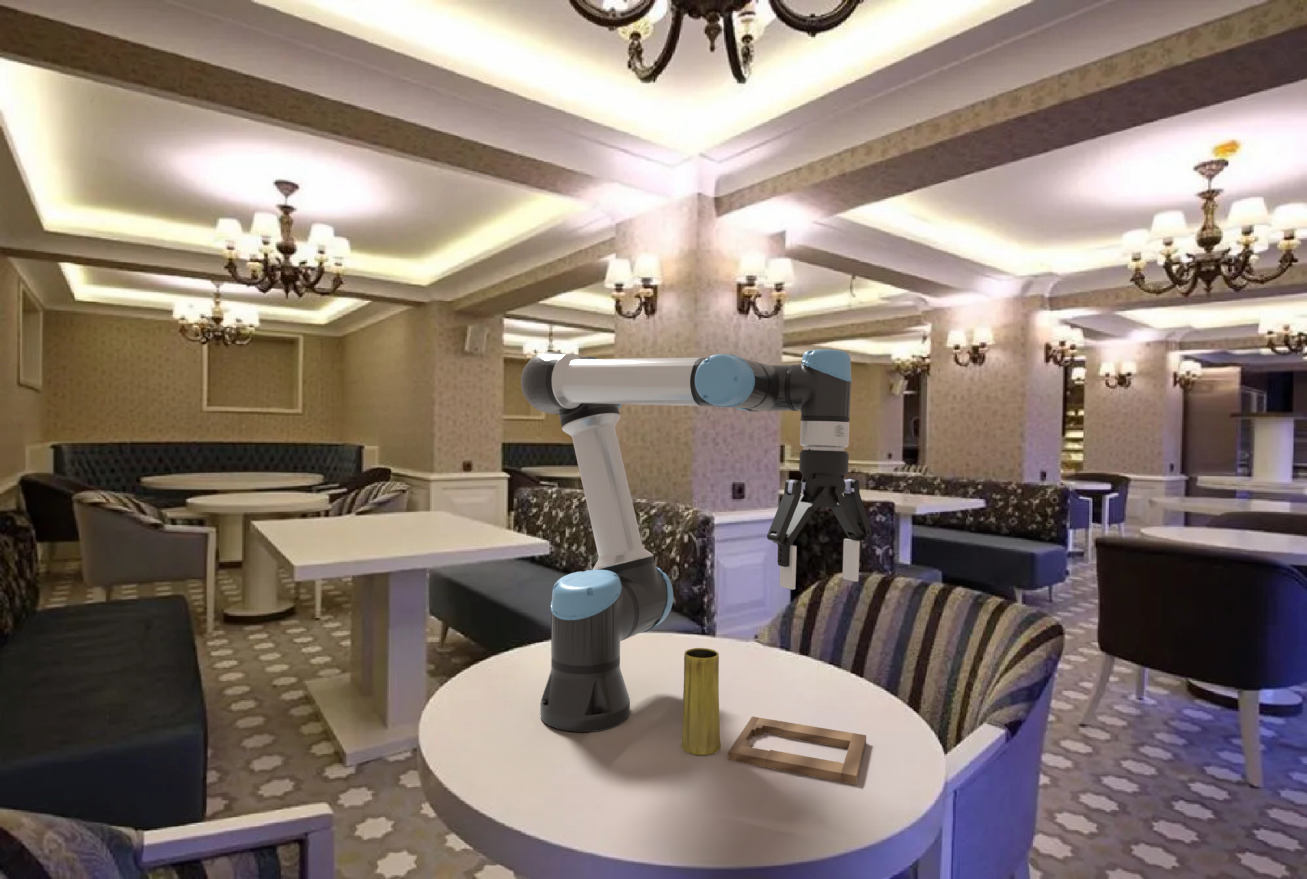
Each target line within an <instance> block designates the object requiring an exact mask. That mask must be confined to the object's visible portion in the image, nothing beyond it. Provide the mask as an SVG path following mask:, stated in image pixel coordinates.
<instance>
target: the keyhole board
mask: <svg viewBox="0 0 1307 879" xmlns="http://www.w3.org/2000/svg"><path fill="white" fill-rule="evenodd" d="M763 734H768V735H773V736H779V737H781V738H785V739H791V740H798V741H801V742H809V743H815V744H820V745H826V746H832V747H837V748H843V749H847V751H846V755H845V759H844V761H843V762H839V761H833V760H828V759H822V758H818V757H812V756H807V755H806V756H805V755H802V754H801V755H800V754H794V753H791V752H784V751H778V750H773V749H770V750H767V749H762V748H757V747H753V745H752V743H750V741H751V739H752V738H756V737H757V736H762V735H763ZM866 745H867V735H866V734H860V733H854V732H849V731H842V730H836V729H832V728H831V729H830V728H825V727H817V726H813V725H811V726H810V725H808V724H807V725H805V724H800V723H795V722H787V721H782V720H781V721H780V720H775V719H770V718H763V717H757V716H751V717H750V718H749V721H748V722H747V724H746V725H745V726H744V728H743V729H742V731H741V733H739V735H738V736H737V738H736V739H735V741H734V743H733V744H732V745H731V747H730V748H729V750H728V751H727V760H728V761H732V762H737V763H743V764H747V765H751V766H752V765H753V766H755V767H756V766H758V767H763V768H766V769H767V768H768V769H772V770H777V771H783V772H787V773H788V772H789V773H792V774H793V773H794V774H799V775H804V776H809V777H814V778H819V779H820V778H821V779H824V780H828V781H829V780H830V781H835V782H840V783H845V784H851V785H855V786H857V784H858V780H859V779H858V778H859V776H860V771H861V767H862V766H861V765H862V762H863V758H864V754H865V748H866Z"/></svg>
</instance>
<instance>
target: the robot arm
mask: <svg viewBox="0 0 1307 879" xmlns="http://www.w3.org/2000/svg"><path fill="white" fill-rule="evenodd" d="M852 383H853V379H852V360H851V356H850V355H849V353H848V352H846V351H844V350H839V349H821V348H820V349H811V350H807V351H805V352H804V353H803V354H802V360H801V362H800V363H796V364H774V365H773V364H766V363H763V362H759V361H758V362H757V361H755V360H754V361H753V360H749V359H747V358H742V357H740V356H737V355H735V354H727V353H725V354H724V353H723V354H722V353H719V354H713V355H710V356H708V357H707V356H706V357H702V356H701V357H695V356H694V357H645V358H644V357H641V358H640V357H638V358H635V357H634V358H597V357H593V356H580V355H577V354H574V353H565V352H560V351H545V352H540V353H538V354H537V355H535V356H533V357H532V358H531V359H530V360H528V362H527V363H526V364H525V366H524V368H523V370H522V372H521V375H520V387H521V388H520V389H521V392H522V394H523V397H524V398H525V400H526V402H527V403H528V404H529V405H530V406H531V407H532V408H534V409H536V410H537V411H539V412H542V413H545V414H550V415H556V416H558V417H559V422H560V426H561V430H562V432H564V433H566V435H569V436H570V437H571V439H572V443H573V449H574V452H575V453H574V454H575V456H576V460H577V466H578V471H579V475H580V479H581V484H582V488H583V494H584V498H585V502H586V506H587V511H588V514H589V519H590V524H591V528H592V534H593V538H594V542H595V547H596V551H597V555H598V559H597V561H596V563H595V565H594V566H593V568H592V569H587V570H585V571H581V570H580V571H576V572H571V573H569V574H566V575H564V576H562V577H561V578H559V579H558V580H557V581H556V582H555V583H554V585H553V586H552V595H551V602H550V612H551V616H550V617H551V618H550V619H551V622H550V627H551V628H550V633H551V636H550V638H551V639H550V640H551V643H550V645H551V648H550V649H551V650H550V652H551V655H550V656H551V663H550V665H551V669H550V672H549V675H548V679H547V682H546V684H545V687H544V690H543V694H542V696H541V699H540V700H541V701H540V706H539V707H540V708H539V710H540V711H539V712H540V714H539V715H541V717H540V719H541V718H542V719H541V721H542V720H543V721H544V722H545V723H546V724H545V723H544V722H543V721H542V722H543V723H544V724H545V725H547V724H548V725H547V726H549V725H550V726H549V727H551V726H552V727H551V728H553V727H554V728H553V729H557V730H560V729H561V730H560V731H567V732H574V733H575V732H577V733H581V732H584V733H585V732H596V731H597V732H598V731H603V730H608V729H610V728H614V727H616V726H619V725H620V724H623V723H624V722H625V721H626V720H628V718H629V717H630V714H631V700H630V695H629V693H628V690H627V686H626V683H625V680H624V676H623V673H622V670H621V641H626V640H627V639H630V638H632V637H634V636H636V635H639V634H641V633H646V632H650V631H651V630H653V629H654V628H655V627H656V626H658V625H660V624H661V623H662V622H665V619H667V617H668V615H670V614H669V613H670V612H671V610H672V607H673V602H674V588H673V585H672V583H671V580H670V578H669V576H668V574H667V573H665V572H663V570H662V568H660V567H657V564H656V561H655V559H654V554H653V553H652V552H650V551H649V550H647V549H646V548H644V546H643V542H642V538H641V533H640V529H639V524H638V521H637V516H636V512H635V508H634V504H633V499H632V496H631V491H630V486H629V482H628V478H627V474H626V469H625V465H624V462H623V461H624V460H623V456H622V453H621V452H622V451H621V447H620V444H619V440H618V439H619V438H618V435H617V430H616V426H617V424H618V422H619V420H620V419H621V416H620V409H621V407H622V405H642V406H643V405H645V406H646V405H647V406H678V407H679V406H681V407H682V406H683V407H686V406H687V407H690V406H691V407H706V408H708V407H710V408H711V407H713V408H717V407H718V408H734V409H736V410H738V411H747V412H753V413H756V412H781V411H782V412H785V411H789V412H790V411H791V412H798V411H799V412H800V427H799V428H800V429H799V430H800V432H799V445H800V446H801V447H803V449H801V450H800V452H799V460H798V463H799V464H798V465H799V466H798V467H799V468H798V470H799V472H800V473H801V475H802V476H801V480H797V479H786V480H785V482H784V492H783V494H782V495H783V496H782V498H781V500H780V503H779V505H778V508H777V510H776V512H775V515H774V517H773V520H772V523H771V525H770V527H769V530H768V531H767V532H768V533H767V536H766V539H768V541H772V543H774V544H776V545H777V565H778V566H779V587H782V588H785V589H788V590H796V581H797V580H796V579H797V578H796V577H797V576H796V575H797V551H798V550H797V545H794V541H795V540H796V539H797V537H798V535H799V534H800V532H801V531H802V530H803V528H804V526H805V525H806V523H807V522H808V519H809V518H810V517H811V516H812V514H813V513H814V512H816V511H817V510H818V509H820V510H824V509H829V510H831V511H832V513H833V515H834V516H835V518H836V519H837V521H838V522H839V524H840V525H841V528H842V529H843V531H844V532H845V534H846V536H847V538H844V539H843V546H842V547H843V549H842V550H843V551H842V552H843V553H842V576H841V577H842V579H843V580H847V581H850V582H855V583H856V582H859V570H860V569H859V568H860V560H861V557H862V542H867V540H868V537H870V536H871V535H872V528H871V524H870V521H869V518H868V516H867V512H866V508H865V505H864V503H863V500H862V496H861V493H860V480H858V479H851V478H845V476H846V475H847V474H848V473H849V462H850V461H849V458H850V457H849V456H850V454H849V453H848V451H845V448H848V447H849V445H850V422H851V421H850V414H851V413H850V412H851V399H852V398H851V395H852V394H851V393H852Z"/></svg>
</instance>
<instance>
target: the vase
mask: <svg viewBox="0 0 1307 879" xmlns="http://www.w3.org/2000/svg"><path fill="white" fill-rule="evenodd" d="M683 663H684V664H683V692H682V694H683V696H682V728H681V729H682V731H681V740H680V741H681V742H680V747H681V749H682V750H683V751H684V752H686V753H687V754H691V755H695V756H710V755H714V754H717V753H718V752H720V750H721V749H722V743H721V731H720V730H721V728H720V725H721V722H720V721H721V720H720V698H719V696H720V694H719V693H720V692H719V691H720V690H719V689H720V688H719V686H720V683H719V681H720V680H719V678H720V677H719V676H720V675H719V673H720V672H719V671H720V653H719V652H718V651H716V650H715V649H711V648H705V647H694V648H693V647H692V648H690V649H687V650H685V651H684V658H683Z"/></svg>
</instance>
